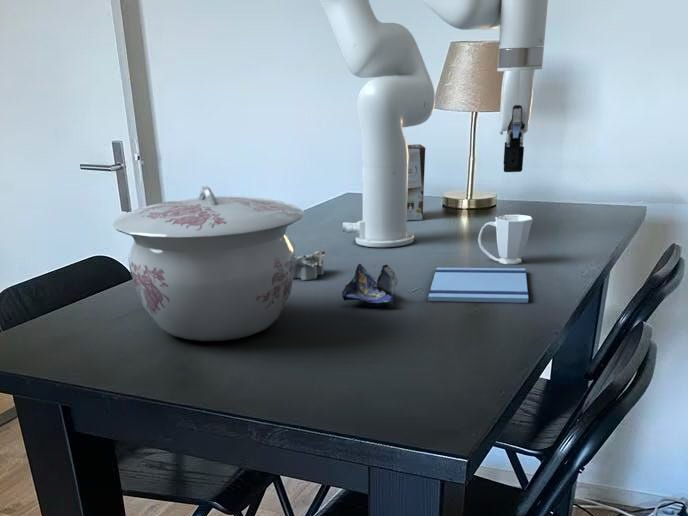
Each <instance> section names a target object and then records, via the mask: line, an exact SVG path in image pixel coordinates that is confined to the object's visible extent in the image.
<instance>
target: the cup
mask: <svg viewBox="0 0 688 516" xmlns="http://www.w3.org/2000/svg"><path fill="white" fill-rule="evenodd" d="M533 221H534V220H533V218H532V216H530V215H524V214H502V215H499V216H495V221H488V222H486V223H484V224H483V225H482V226H481V228H480V229H479V233H478V237H477V241H478V247H479V248H480V250H481V251H482V252H483V253H484V254H485V255H486V256H487V257H488V258H490V259H491V260H493V261H495V262H498V263H499V264H503V265H517V264H522V259H521V258H522V257H523V256H524V253H525V250H526V248H527V244H528V240H529V236H530V231H531V227H532V224H533ZM489 225H490V226H493V227H495V231H496V244H497V245H496V246H497V252H498V256H499V258H497V257H495V256H494V255H492V254H491V253H490V252H489V251H488V250H487V249H485V247H484V245H483V244H482V235H483V231H484V229H485V228H486V227H487V226H489Z"/></svg>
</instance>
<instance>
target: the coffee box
mask: <svg viewBox="0 0 688 516" xmlns="http://www.w3.org/2000/svg"><path fill="white" fill-rule="evenodd" d="M407 146H408V195H407V221H422V220H424V219H423V217H424V216H423V215H424V195H425V194H424V193H425V192H424V191H425V169H426V167H425V166H426V147H425V146H424V145H422V144H418V143H417V144H407Z"/></svg>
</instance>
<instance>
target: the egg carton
mask: <svg viewBox="0 0 688 516" xmlns="http://www.w3.org/2000/svg"><path fill="white" fill-rule="evenodd" d="M325 255H326V252H325V250H322V251H321V250H318V251H316V250H315V251H310V252H309V254H305V253H304V254H302V255H300V256H299V255H298V256H297V255H295V269H294V276H293V279H301V281H309V280H315V279H317V278H318V276H323V275H324V273H325V272H324V260H323V259H322V258H324V257H325Z"/></svg>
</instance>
